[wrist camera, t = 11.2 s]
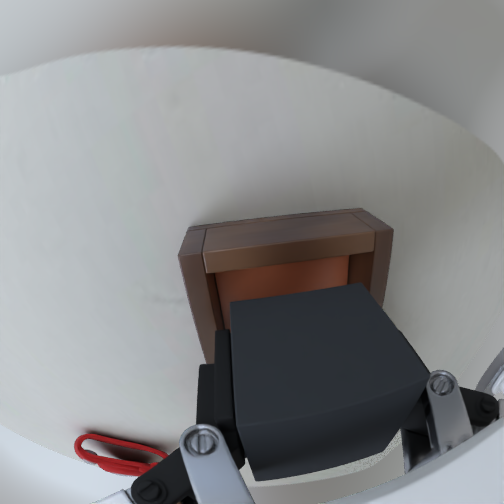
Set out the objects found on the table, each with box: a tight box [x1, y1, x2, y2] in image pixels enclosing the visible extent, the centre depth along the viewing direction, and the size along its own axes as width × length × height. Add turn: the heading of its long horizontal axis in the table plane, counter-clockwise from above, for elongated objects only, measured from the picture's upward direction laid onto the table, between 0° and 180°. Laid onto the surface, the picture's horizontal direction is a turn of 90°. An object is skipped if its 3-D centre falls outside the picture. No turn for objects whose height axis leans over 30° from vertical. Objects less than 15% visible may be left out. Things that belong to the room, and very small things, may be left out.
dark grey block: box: [230, 282, 431, 481], centre depth 8 cm, size 5×5×5 cm
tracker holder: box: [74, 434, 169, 476], centre depth 20 cm, size 12×4×10 cm
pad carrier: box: [178, 208, 394, 364], centre depth 14 cm, size 8×16×3 cm, turn 6°
